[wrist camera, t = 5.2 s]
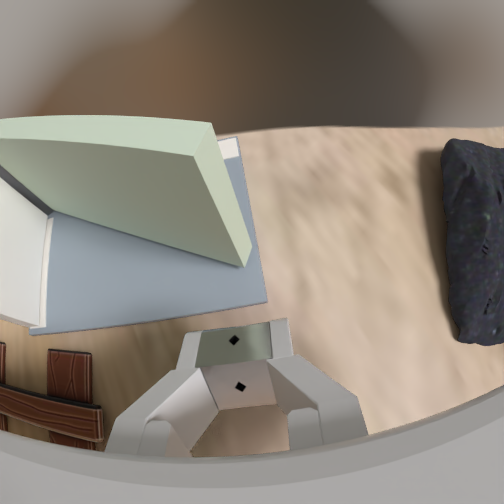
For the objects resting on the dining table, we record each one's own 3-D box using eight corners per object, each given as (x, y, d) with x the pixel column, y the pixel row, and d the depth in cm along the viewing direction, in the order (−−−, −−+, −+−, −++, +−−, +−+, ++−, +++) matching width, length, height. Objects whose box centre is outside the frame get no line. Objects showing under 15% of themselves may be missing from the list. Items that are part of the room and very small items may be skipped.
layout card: (267, 302, 16) (267, 300, 16) (32, 335, 17) (28, 334, 17) (238, 139, 20) (236, 135, 20) (45, 197, 21) (41, 194, 21)
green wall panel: (53, 210, 19) (-28, 138, 11) (61, 195, 20) (-17, 120, 12) (244, 267, 16) (193, 156, 8) (252, 246, 16) (211, 122, 8)
